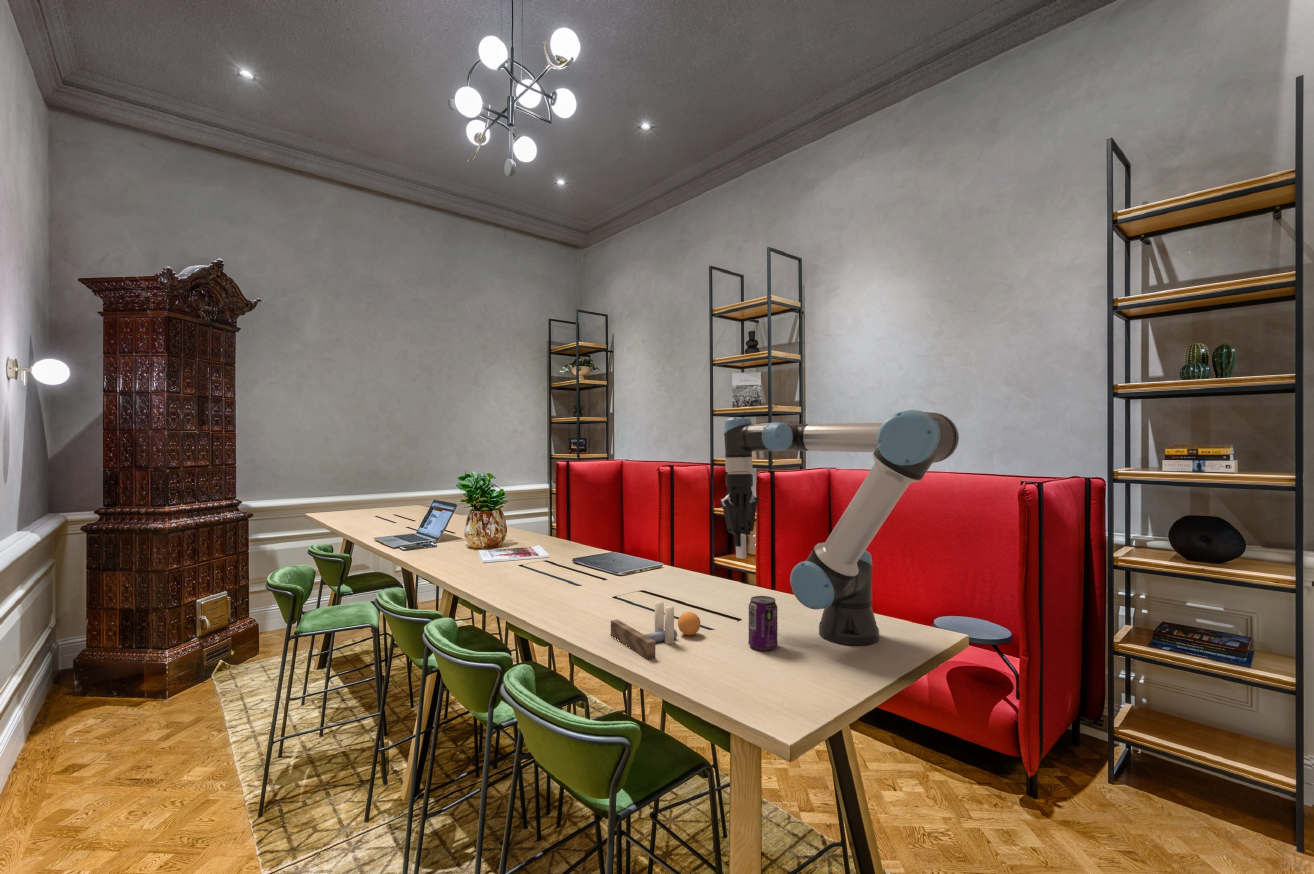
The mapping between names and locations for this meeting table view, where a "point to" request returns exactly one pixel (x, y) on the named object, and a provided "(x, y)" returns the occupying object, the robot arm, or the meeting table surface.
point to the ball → (689, 623)
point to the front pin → (659, 636)
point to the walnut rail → (633, 639)
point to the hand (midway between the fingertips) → (741, 557)
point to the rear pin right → (659, 616)
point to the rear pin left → (669, 625)
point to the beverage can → (763, 623)
